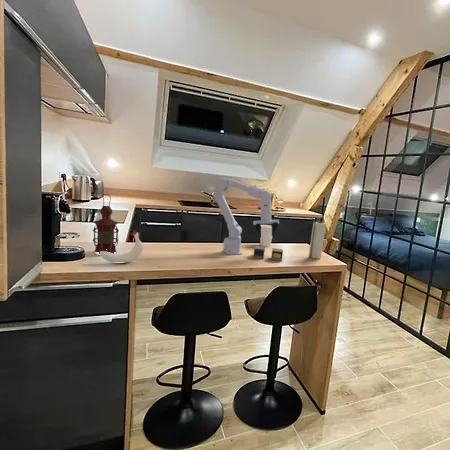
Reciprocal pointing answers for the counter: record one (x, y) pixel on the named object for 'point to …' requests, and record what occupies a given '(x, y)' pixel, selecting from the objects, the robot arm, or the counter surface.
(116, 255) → the banana
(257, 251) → the grey hollow cube
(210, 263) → the counter surface
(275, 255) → the orange block
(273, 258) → the open grey box
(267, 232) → the foam cup
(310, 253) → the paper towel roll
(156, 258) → the counter surface
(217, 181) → the robot arm
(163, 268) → the counter surface
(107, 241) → the lantern
